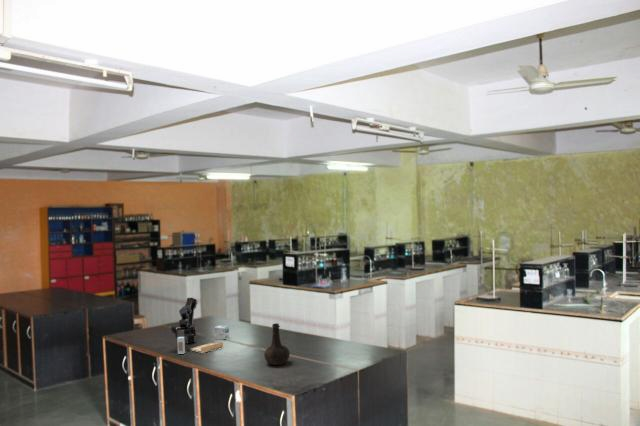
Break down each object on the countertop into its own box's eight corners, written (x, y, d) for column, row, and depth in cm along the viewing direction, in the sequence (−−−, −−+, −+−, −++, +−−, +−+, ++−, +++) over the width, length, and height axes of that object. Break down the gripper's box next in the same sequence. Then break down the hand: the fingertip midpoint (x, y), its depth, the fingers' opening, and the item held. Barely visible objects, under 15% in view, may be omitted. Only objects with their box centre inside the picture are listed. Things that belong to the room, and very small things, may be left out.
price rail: (201, 351, 393) (200, 347, 393) (222, 345, 408) (221, 341, 408) (201, 351, 393) (201, 347, 393) (222, 345, 407) (222, 342, 407)
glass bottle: (273, 369, 346) (271, 328, 346) (260, 363, 361) (258, 324, 361) (294, 363, 357) (293, 323, 357) (281, 358, 371) (279, 320, 371)
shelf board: (190, 351, 403) (189, 348, 403) (211, 345, 418) (210, 342, 418) (201, 354, 393) (201, 351, 393) (222, 348, 407) (222, 345, 407)
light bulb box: (229, 338, 440) (229, 325, 440) (225, 340, 434) (224, 327, 434) (219, 337, 444) (219, 325, 444) (214, 339, 438) (214, 327, 438)
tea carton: (179, 353, 397) (178, 337, 397) (185, 353, 397) (184, 336, 397) (177, 355, 393) (177, 338, 393) (183, 354, 393) (183, 338, 393)
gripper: (171, 316, 405) (168, 333, 394) (194, 314, 406) (192, 331, 395) (173, 323, 413) (171, 340, 402) (197, 322, 414) (194, 339, 403)
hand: (182, 338), depth 400 cm, fingers open, 9 cm apart
